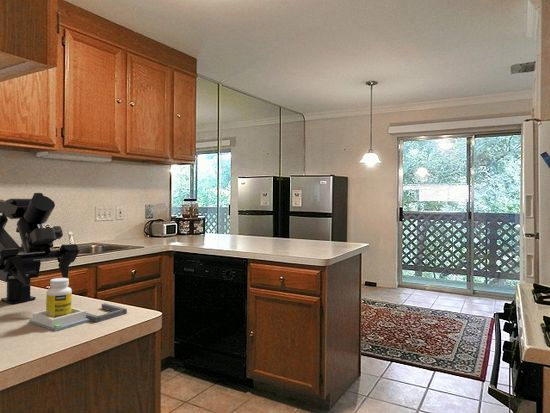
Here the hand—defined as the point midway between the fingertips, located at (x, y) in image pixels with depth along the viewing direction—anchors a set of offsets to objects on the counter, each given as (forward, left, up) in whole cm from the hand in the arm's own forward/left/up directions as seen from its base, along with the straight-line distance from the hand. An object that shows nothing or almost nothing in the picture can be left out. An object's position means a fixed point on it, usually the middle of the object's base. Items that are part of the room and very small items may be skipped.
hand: (47, 282), depth 100 cm
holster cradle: (+11, +8, -8) cm, 16 cm away
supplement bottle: (+7, -1, -8) cm, 11 cm away
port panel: (+8, -1, -8) cm, 11 cm away
